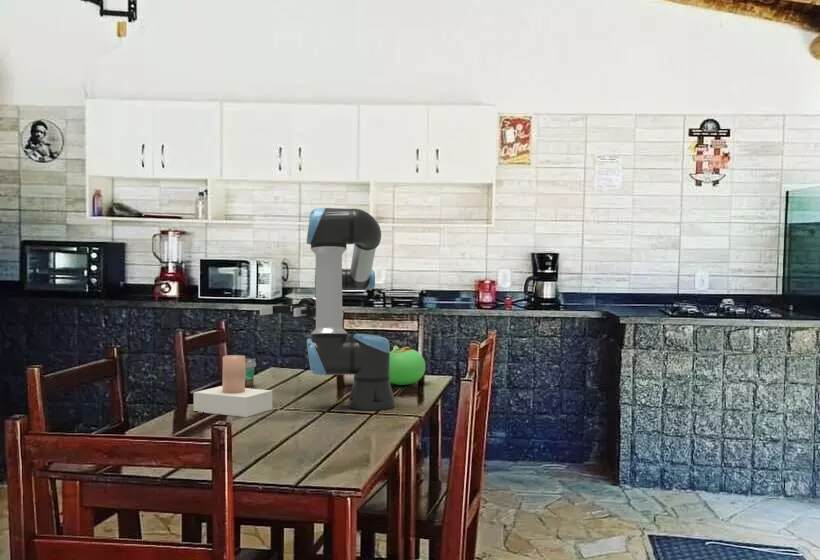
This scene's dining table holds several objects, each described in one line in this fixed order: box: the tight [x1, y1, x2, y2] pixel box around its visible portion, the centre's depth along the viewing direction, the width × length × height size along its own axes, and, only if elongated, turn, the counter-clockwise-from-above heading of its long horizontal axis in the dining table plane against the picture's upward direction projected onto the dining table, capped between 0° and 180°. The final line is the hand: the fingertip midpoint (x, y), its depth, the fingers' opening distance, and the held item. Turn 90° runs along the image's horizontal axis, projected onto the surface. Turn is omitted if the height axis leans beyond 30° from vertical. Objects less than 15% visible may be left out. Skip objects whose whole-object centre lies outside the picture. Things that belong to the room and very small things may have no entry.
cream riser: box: [193, 385, 273, 418], centre depth 262 cm, size 20×14×6 cm
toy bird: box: [389, 345, 426, 386], centre depth 314 cm, size 18×17×15 cm
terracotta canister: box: [221, 354, 246, 393], centre depth 261 cm, size 7×7×11 cm
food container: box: [245, 358, 257, 389], centre depth 305 cm, size 12×6×10 cm, turn 168°
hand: (277, 311), depth 278 cm, fingers open, 13 cm apart
